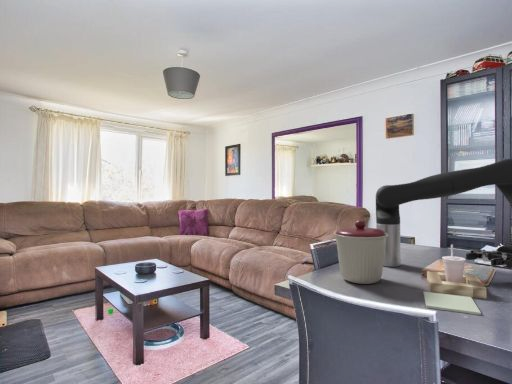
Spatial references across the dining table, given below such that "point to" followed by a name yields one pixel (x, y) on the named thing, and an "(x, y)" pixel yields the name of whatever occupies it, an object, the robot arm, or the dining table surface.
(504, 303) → the dining table surface
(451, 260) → the smoothie
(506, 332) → the dining table surface
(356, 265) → the canister
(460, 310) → the mat
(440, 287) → the holder
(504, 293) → the dining table surface
